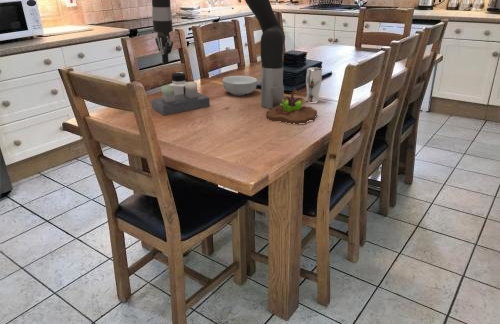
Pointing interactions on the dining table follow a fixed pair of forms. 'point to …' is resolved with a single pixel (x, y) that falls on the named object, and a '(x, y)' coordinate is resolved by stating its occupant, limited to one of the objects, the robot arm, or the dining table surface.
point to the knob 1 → (168, 93)
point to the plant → (291, 111)
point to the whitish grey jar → (191, 90)
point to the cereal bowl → (239, 84)
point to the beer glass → (313, 83)
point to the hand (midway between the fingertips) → (165, 63)
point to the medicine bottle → (178, 83)
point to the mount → (180, 104)
